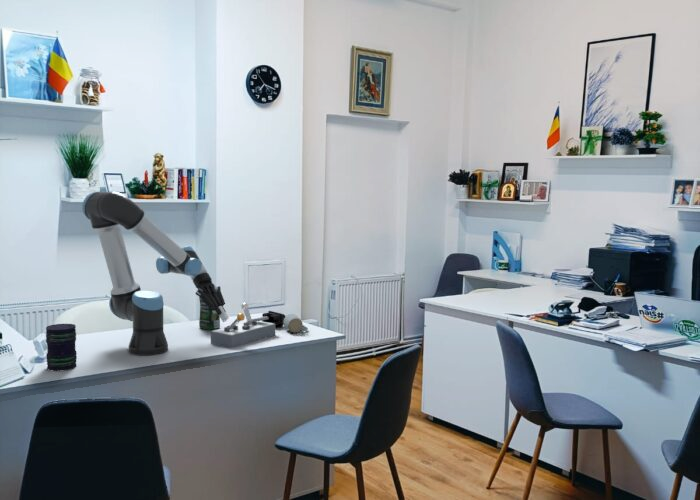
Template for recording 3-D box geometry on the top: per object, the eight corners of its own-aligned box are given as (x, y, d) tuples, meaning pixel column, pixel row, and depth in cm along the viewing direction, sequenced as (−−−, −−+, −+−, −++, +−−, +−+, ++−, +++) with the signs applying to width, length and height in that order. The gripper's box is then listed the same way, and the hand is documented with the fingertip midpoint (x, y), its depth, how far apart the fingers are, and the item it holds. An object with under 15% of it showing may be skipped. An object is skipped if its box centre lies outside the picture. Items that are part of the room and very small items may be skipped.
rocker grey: (251, 321, 279) (251, 318, 279) (258, 320, 283) (257, 317, 283) (262, 320, 275) (261, 317, 276) (268, 318, 279) (268, 315, 279)
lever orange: (225, 326, 263) (238, 312, 258) (231, 324, 266) (244, 311, 261) (228, 332, 262) (241, 318, 257) (234, 330, 265) (247, 317, 260)
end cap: (286, 326, 297) (286, 313, 297) (274, 329, 292) (274, 314, 292) (273, 323, 304) (273, 310, 304) (261, 325, 299) (261, 311, 299)
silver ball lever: (245, 326, 273) (238, 304, 274) (251, 325, 276) (244, 303, 277) (250, 324, 271) (243, 302, 273) (256, 322, 274) (249, 301, 276)
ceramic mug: (288, 334, 282) (288, 317, 281) (282, 330, 290) (283, 314, 289) (310, 332, 286) (310, 316, 286) (304, 329, 294) (304, 313, 293)
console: (210, 343, 263) (210, 327, 262) (255, 331, 286) (255, 316, 285) (231, 347, 256) (231, 331, 255) (275, 335, 279) (275, 320, 279)
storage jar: (49, 372, 217) (48, 330, 215) (44, 366, 225) (43, 325, 223) (79, 368, 223) (78, 327, 221) (73, 362, 231) (72, 322, 229)
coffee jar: (196, 328, 291) (196, 288, 289) (209, 325, 297) (209, 287, 295) (209, 331, 285) (209, 291, 283) (222, 328, 291) (222, 289, 289)
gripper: (207, 280, 280) (232, 322, 273) (184, 283, 270) (210, 327, 262) (215, 270, 277) (241, 312, 269) (192, 273, 266) (219, 317, 258)
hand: (225, 320), depth 265 cm, fingers closed
